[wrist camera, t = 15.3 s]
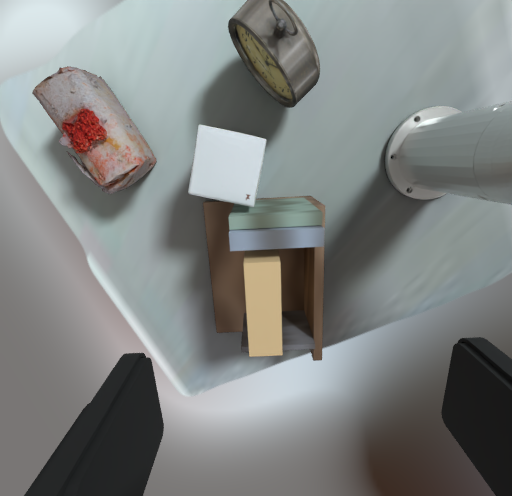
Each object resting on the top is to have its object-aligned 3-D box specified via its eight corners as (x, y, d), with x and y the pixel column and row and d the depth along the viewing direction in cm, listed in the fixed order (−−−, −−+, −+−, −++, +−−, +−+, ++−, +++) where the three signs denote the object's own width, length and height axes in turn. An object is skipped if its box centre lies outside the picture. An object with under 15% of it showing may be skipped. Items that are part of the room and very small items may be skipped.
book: (273, 232, 43) (280, 261, 31) (275, 303, 47) (282, 355, 34) (246, 233, 43) (243, 263, 31) (250, 304, 47) (249, 356, 34)
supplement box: (265, 144, 41) (269, 138, 29) (254, 195, 43) (254, 210, 31) (214, 132, 41) (197, 121, 28) (206, 185, 43) (186, 195, 31)
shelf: (310, 195, 43) (336, 213, 29) (309, 323, 50) (330, 386, 36) (204, 201, 43) (181, 221, 30) (217, 327, 50) (203, 392, 36)
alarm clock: (230, 51, 38) (213, -25, 22) (260, 17, 36) (264, -88, 21) (285, 117, 40) (305, 90, 24) (315, 87, 39) (355, 40, 23)
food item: (168, 164, 42) (143, 166, 32) (125, 193, 43) (89, 202, 34) (107, 73, 38) (59, 46, 29) (62, 108, 40) (2, 92, 30)
